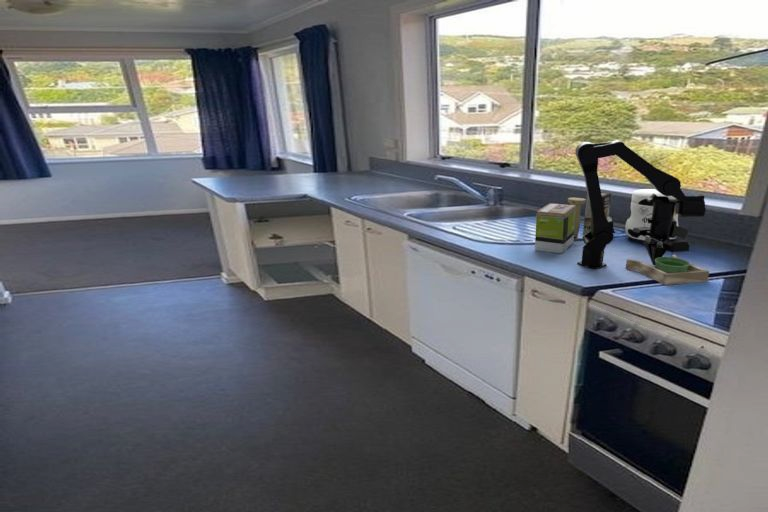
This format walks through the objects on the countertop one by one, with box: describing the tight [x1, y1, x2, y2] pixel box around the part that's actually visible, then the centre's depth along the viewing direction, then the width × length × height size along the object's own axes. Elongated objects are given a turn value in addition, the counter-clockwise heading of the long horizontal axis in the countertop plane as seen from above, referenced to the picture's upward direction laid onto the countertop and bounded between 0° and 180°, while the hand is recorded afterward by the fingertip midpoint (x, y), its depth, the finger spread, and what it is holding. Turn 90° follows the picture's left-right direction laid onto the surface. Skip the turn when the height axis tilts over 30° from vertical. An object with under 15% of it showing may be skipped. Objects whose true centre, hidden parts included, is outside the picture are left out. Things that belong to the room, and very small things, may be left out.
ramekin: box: [654, 256, 691, 274], centre depth 143 cm, size 9×9×4 cm
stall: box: [625, 254, 710, 286], centre depth 144 cm, size 16×17×3 cm
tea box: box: [534, 202, 576, 254], centre depth 172 cm, size 15×10×15 cm
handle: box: [567, 197, 587, 238], centre depth 184 cm, size 5×6×15 cm
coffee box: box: [582, 191, 612, 236], centre depth 186 cm, size 9×6×16 cm
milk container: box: [625, 188, 680, 243], centre depth 176 cm, size 17×17×18 cm
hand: (655, 265), depth 149 cm, fingers closed
